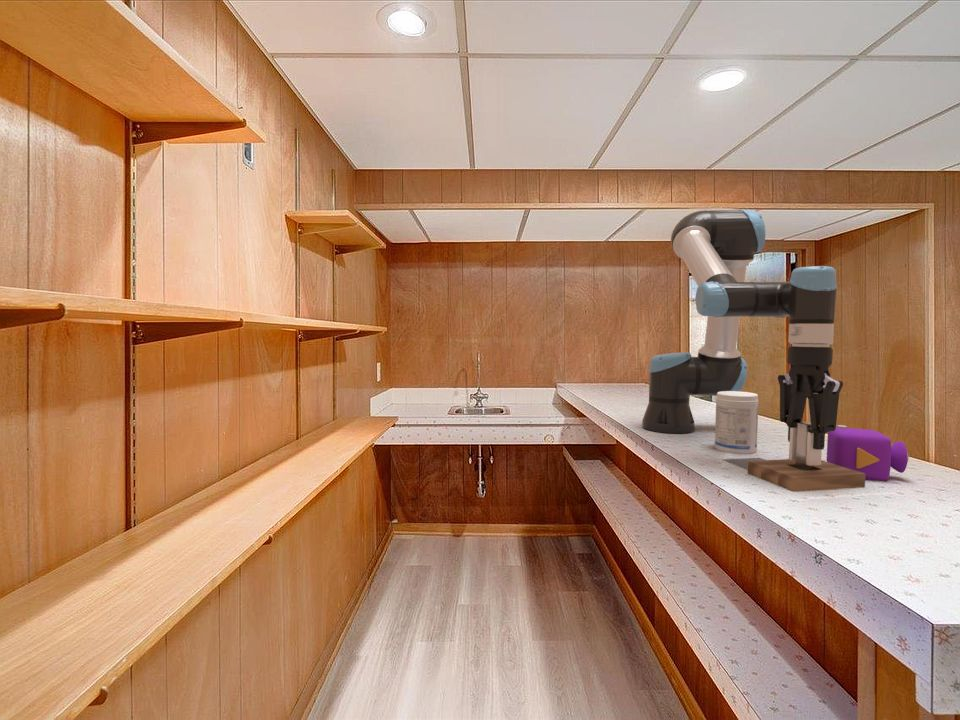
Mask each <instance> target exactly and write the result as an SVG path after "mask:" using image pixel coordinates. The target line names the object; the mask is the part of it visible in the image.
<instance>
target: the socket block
mask: <svg viewBox="0 0 960 720" xmlns="http://www.w3.org/2000/svg"><path fill="white" fill-rule="evenodd" d="M795 462H796V460H790V459H789V458H785V459H784V458H783V459H765V460H761V461H748V470H747V474H748V475H750V476H752V477H753V476H754V477H756V478H758V479H759V480H763V481H765V482H768V483H770V484H773V485H775V486H778V487H781V488H783V489H785V490H788V491H791V492H792V493H793V492H794V493H796V492H806V491H807V492H810V491H822V490H823V491H824V490H825V491H826V490H836V489H837V490H841V489H854V488H865V487H866V479H865V473H862V472H859V471H855V470H852V469H849V468H845V467H842V466H839V465H835V464H832V463H829V462H827V461H826V460H822V459H821V465H813V470H807V471H803V470H800V469H797V468H795Z"/></svg>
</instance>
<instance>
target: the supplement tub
mask: <svg viewBox="0 0 960 720" xmlns="http://www.w3.org/2000/svg"><path fill="white" fill-rule="evenodd" d="M758 420H759V395H758V393H755V392H749V391H721V392H717V396H716V399H715V424H714V425H715V427H714V430H715V431H714V434H715V435H714V447H715V449H716V450H718V451H721V452H726V453H730V454H740V455H750V454H754V453H756V451H757V449H758V428H759V427H758V425H759V422H758Z"/></svg>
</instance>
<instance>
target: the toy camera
mask: <svg viewBox="0 0 960 720" xmlns="http://www.w3.org/2000/svg"><path fill="white" fill-rule="evenodd" d="M826 442H827V443H826V445H827V446H826V462H829V463H832V464H835V465H839V466H842V467H845V468H849V469H852V470H855V471H859V472H862V473H865V480H872V481H881V482H883V481H888V480H889V479H890V475H891V469H893V470H895V471H896V472H898V473H901V474H903V473H904V472H905V471H906V469H907V466H908V462H909V460H910V459H909V457H910V456H909V453H908V450H907V447H906V444H905V443H904V442H903V441H902V440H900V441H897V442H895V443H892V441H891V439H890V438H889V437H888V436H887V435H885V434H883V433H881V432H879V431H877V430H874V429H866V428H864V429H863V428H851V427H848V425H842V424H838V425H837V424H836V429H835V431H830V432H827V441H826Z"/></svg>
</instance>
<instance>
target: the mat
mask: <svg viewBox="0 0 960 720" xmlns="http://www.w3.org/2000/svg"><path fill="white" fill-rule="evenodd" d="M721 460H722V461H724V462H727V463H729V464H731V465H735V466H737V467H740V468H743V469H745V470H747V471H748V461H761V460H766V459H765V458H762V457H745V458H744V457H743V458H725V459H721Z"/></svg>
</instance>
